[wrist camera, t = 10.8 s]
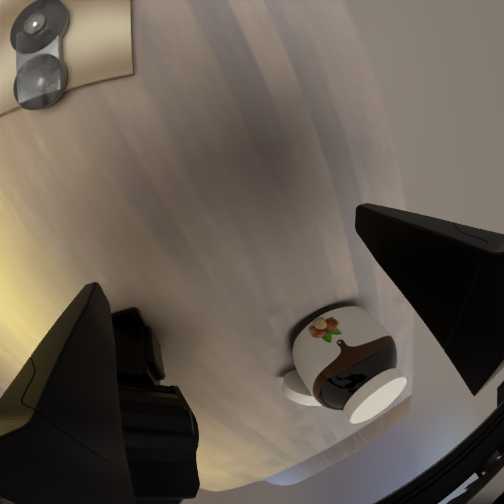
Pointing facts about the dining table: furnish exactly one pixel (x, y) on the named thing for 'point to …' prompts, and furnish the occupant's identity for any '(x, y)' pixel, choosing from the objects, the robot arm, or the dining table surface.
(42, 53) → the set of metal discs
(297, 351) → the spread jar
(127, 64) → the board
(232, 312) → the dining table surface
